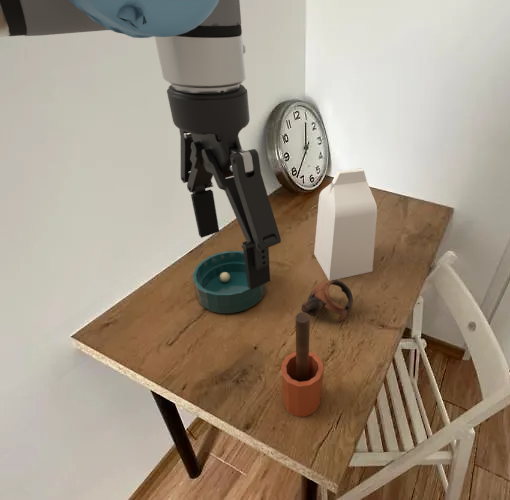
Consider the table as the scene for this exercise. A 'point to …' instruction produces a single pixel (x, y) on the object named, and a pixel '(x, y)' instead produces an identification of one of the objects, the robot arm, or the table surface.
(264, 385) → the table surface
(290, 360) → the crock
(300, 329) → the stirring stick
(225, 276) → the bead
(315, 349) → the table surface
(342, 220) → the milk
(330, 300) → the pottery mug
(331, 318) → the table surface
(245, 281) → the bowl
